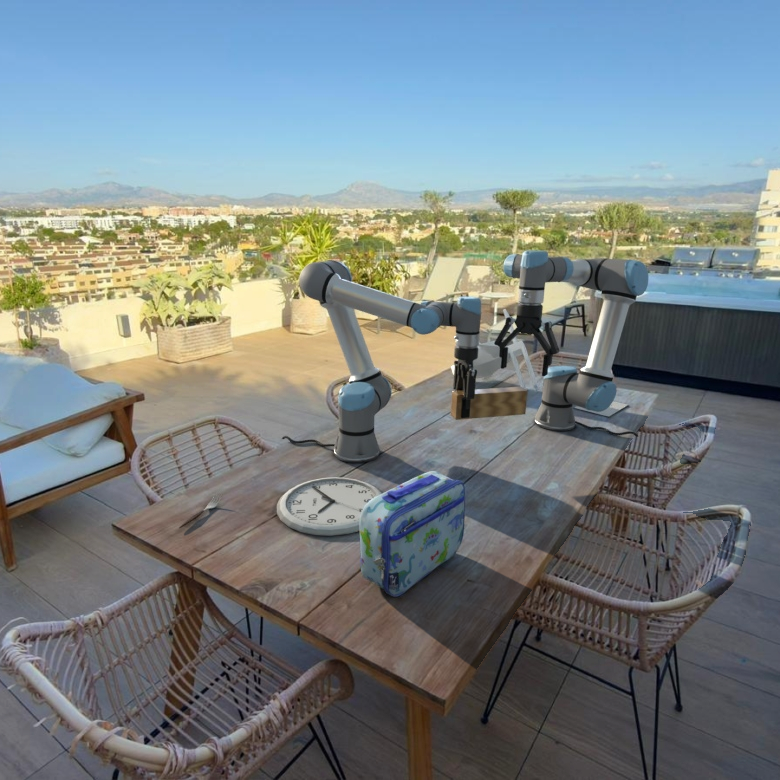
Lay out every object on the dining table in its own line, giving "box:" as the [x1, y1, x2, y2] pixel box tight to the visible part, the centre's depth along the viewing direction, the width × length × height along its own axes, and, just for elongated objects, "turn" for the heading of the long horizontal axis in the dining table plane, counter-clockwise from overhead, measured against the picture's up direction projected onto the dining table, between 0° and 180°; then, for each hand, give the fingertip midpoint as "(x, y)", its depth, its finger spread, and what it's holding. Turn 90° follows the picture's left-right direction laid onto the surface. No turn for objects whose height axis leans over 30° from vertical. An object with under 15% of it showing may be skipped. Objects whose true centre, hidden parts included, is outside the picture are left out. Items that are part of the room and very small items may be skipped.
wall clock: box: [276, 476, 384, 537], centre depth 142 cm, size 30×2×30 cm
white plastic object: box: [450, 308, 540, 391], centre depth 253 cm, size 37×45×31 cm
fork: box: [178, 493, 223, 529], centre depth 137 cm, size 3×16×2 cm, turn 160°
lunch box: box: [358, 470, 466, 598], centre depth 113 cm, size 26×11×21 cm, turn 135°
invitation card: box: [573, 400, 629, 418], centre depth 226 cm, size 21×1×15 cm
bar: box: [450, 386, 528, 421], centre depth 175 cm, size 25×5×8 cm, turn 105°
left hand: (462, 414), depth 174 cm, fingers closed on bar, 5 cm apart
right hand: (523, 371), depth 164 cm, fingers open, 13 cm apart
